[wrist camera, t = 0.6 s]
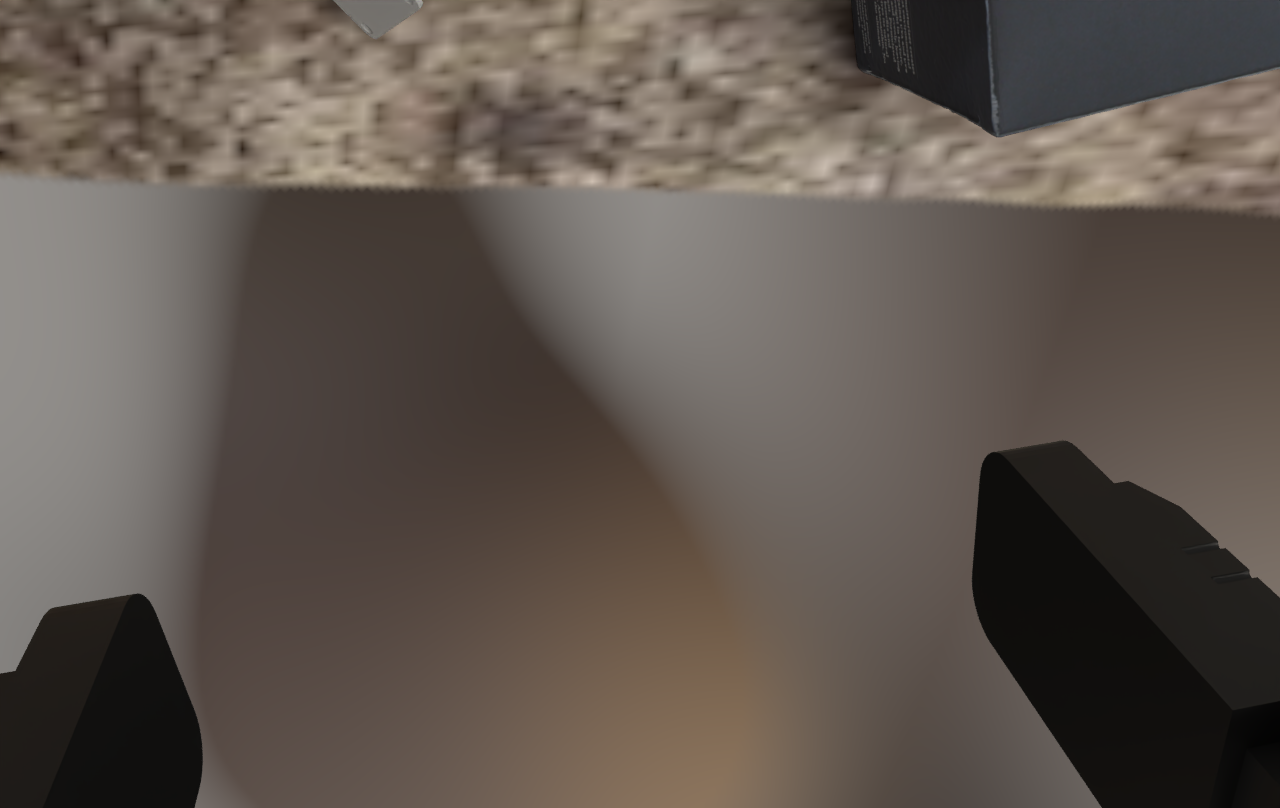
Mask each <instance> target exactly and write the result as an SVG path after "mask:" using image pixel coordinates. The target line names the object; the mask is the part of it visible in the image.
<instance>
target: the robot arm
mask: <svg viewBox="0 0 1280 808" xmlns="http://www.w3.org/2000/svg"><path fill="white" fill-rule="evenodd" d="M972 589H973V597H974V602H975V606H976V610H977V614H978V617H979V620H980V623H981V625H982V628H983V630H984V632H985V634H986V636H987V638H988V640H989V641H990V643H991V644H992V646H993V647H994V649H995V650H996V652H997V653H998V655H999V656H1000V658H1001V659H1002V661H1003V662H1004V663H1005V665H1006V667H1007V668H1008V669H1009V671H1010V672H1011V674H1012V675H1013V677H1014V678H1015V680H1016V681H1017V683H1018V684H1019V686H1020V687H1021V688H1022V690H1023V692H1024V693H1025V695H1026V696H1027V698H1028V699H1029V701H1030V702H1031V704H1032V705H1033V706H1034V708H1035V709H1036V711H1037V712H1038V714H1039V715H1040V717H1041V718H1042V720H1043V721H1044V723H1045V724H1046V726H1047V727H1048V728H1049V730H1050V732H1051V733H1052V734H1053V736H1054V737H1055V739H1056V740H1057V742H1058V743H1059V745H1060V746H1061V748H1062V749H1063V751H1064V752H1065V754H1066V755H1067V757H1068V758H1069V760H1070V761H1071V763H1072V764H1073V766H1074V767H1075V769H1076V770H1077V771H1078V773H1079V775H1080V776H1081V777H1082V779H1083V780H1084V782H1085V783H1086V785H1087V786H1088V788H1089V789H1090V791H1091V792H1092V794H1093V795H1094V797H1095V798H1096V799H1097V801H1098V803H1099V804H1100V806H1101V807H1102V808H1280V598H1279V597H1278V596H1277V595H1276V594H1275V593H1274V592H1273V591H1272V590H1271V589H1270V588H1268V587H1267V586H1266V585H1265V584H1264V583H1263V582H1262V581H1261V580H1260V579H1259V578H1258V577H1257V578H1251V576H1250V574H1249V569H1248V568H1247V567H1246V566H1245V565H1243V564H1242V563H1241V562H1240V561H1239V560H1238V559H1237V558H1236V557H1235V556H1233V555H1232V554H1231V553H1230V552H1229V551H1228V550H1227V549H1226V548H1224V549H1220V548H1219V546H1218V541H1217V540H1216V539H1215V538H1214V537H1213V536H1211V534H1210V533H1208V532H1207V531H1206V530H1205V529H1204V528H1203V527H1202V526H1201V525H1200V524H1199V523H1197V522H1196V521H1195V520H1194V519H1193V518H1192V517H1191V516H1190V515H1189V514H1188V513H1187V512H1186V511H1184V510H1183V509H1182V508H1181V507H1180V506H1178V505H1176V504H1174V503H1172V502H1170V501H1168V500H1166V499H1164V498H1162V497H1159V496H1158V495H1156V494H1153V493H1151V492H1150V491H1147V490H1146V489H1143V488H1141V487H1140V486H1137V485H1135V484H1133V483H1131V482H1129V481H1126V482H1120V483H1113V482H1112V481H1111V480H1110V479H1109V478H1108V477H1107V476H1106V475H1105V474H1104V473H1103V472H1102V471H1101V470H1100V469H1099V468H1098V467H1096V465H1094V463H1092V462H1091V461H1090V460H1089V459H1088V458H1087V457H1086V456H1085V455H1084V454H1083V453H1082V452H1081V451H1080V450H1079V449H1078V448H1077V447H1076V446H1074V445H1073V444H1072V443H1070V442H1068V441H1057V442H1051V443H1046V444H1039V445H1034V446H1028V447H1022V448H1016V449H1010V450H1004V451H998V452H992V453H990V454H988V455H987V456H986V458H985V459H984V461H983V463H982V467H981V473H980V483H979V494H978V508H977V520H976V532H975V545H974V557H973V570H972ZM202 755H203V753H202V740H201V733H200V727H199V723H198V719H197V716H196V713H195V710H194V708H193V705H192V703H191V700H190V698H189V695H188V693H187V690H186V688H185V685H184V682H183V680H182V678H181V675H180V672H179V670H178V667H177V665H176V662H175V660H174V657H173V655H172V652H171V650H170V647H169V645H168V642H167V640H166V637H165V635H164V632H163V630H162V627H161V625H160V622H159V619H158V617H157V615H156V612H155V610H154V608H153V606H152V604H151V603H150V601H149V600H148V599H147V598H146V597H145V596H143V595H142V594H132V595H126V596H120V597H114V598H109V599H102V600H96V601H90V602H85V603H79V604H73V605H67V606H61V607H55V608H52V609H50V610H49V611H48V612H47V613H46V614H45V615H44V616H43V618H42V620H41V621H40V623H39V626H38V627H37V629H36V631H35V633H34V635H33V637H32V639H31V641H30V643H29V645H28V647H27V649H26V651H25V653H24V655H23V657H22V659H21V661H20V663H19V665H18V667H17V669H16V671H13V672H7V673H1V674H0V808H195V803H196V800H197V795H198V792H199V787H200V783H201V777H202V765H203V756H202Z"/></svg>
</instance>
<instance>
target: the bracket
mask: <svg viewBox="0 0 1280 808" xmlns="http://www.w3.org/2000/svg"><path fill="white" fill-rule="evenodd" d="M333 1H334V2H335V3H336V4H337V5H338V6H339V7H340V8H341V9H342V10H343V11H344V12H345V13H346V14H347V15H348V16H350V15H351V17H350V18H351V19H352V20H353V21H354V22H355V23H356V24H357V25H358V26H359V27H360V28H361V29H362V30H363V31H364V32H365V33H366V34H367V35H369V36H370V37H372V38H374V39H378V38H379V37H380V36H382V35H383V34H385V33H386V32H388V31H389V30H391V29H392V28H393V27H395V26H396V25H398V24H399V23H401V22H402V21H403V20H405V19H406V18H408V17H409V16H411V15H412V14H414V13H415V12H416V11H418V10H419V9H420V8H421V7H422V6H423V2H422V0H333Z"/></svg>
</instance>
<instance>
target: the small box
mask: <svg viewBox="0 0 1280 808" xmlns="http://www.w3.org/2000/svg"><path fill="white" fill-rule="evenodd" d="M851 4H852V14H853V26H854V36H855V46H856V56H857V63H858V68H859V69H860V70H861V71H862V72H864V73H867V74H870V75H873V76H875V77H877V78H881V79H883V80H885V81H888V82H890V83H892V84H894V85H897V86H900V87H902V88H903V89H905V90H907V91H909V92H912V93H914V94H916V95H918V96H920V97H922V98H924V99H927V100H929V101H931V102H932V103H934V104H937V105H940V106H942V107H944V108H946V109H949V110H950V111H951V112H953V113H957V114H958V115H960V116H962V117H964V118H966V119H968V120H969V121H971V122H973V123H974V124H976V125H978V126H980V127H982V129H984V130H985V131H986V132H988V133H990V134H991V135H993V136H995V137H1003V136H1007V135H1011V134H1015V133H1019V132H1024V131H1028V130H1032V129H1036V128H1040V127H1044V126H1048V125H1052V124H1056V123H1060V122H1064V121H1069V120H1073V119H1077V118H1081V117H1085V116H1089V115H1093V114H1097V113H1100V112H1105V111H1110V110H1114V109H1118V108H1122V107H1126V106H1129V105H1133V104H1137V103H1141V102H1146V101H1150V100H1155V99H1159V98H1163V97H1167V96H1172V95H1175V94H1179V93H1182V92H1187V91H1191V90H1195V89H1199V88H1203V87H1206V86H1211V85H1215V84H1219V83H1223V82H1226V81H1230V80H1233V79H1238V78H1242V77H1247V76H1251V75H1256V74H1260V73H1263V72H1267V71H1271V70H1275V69H1280V0H851Z"/></svg>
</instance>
